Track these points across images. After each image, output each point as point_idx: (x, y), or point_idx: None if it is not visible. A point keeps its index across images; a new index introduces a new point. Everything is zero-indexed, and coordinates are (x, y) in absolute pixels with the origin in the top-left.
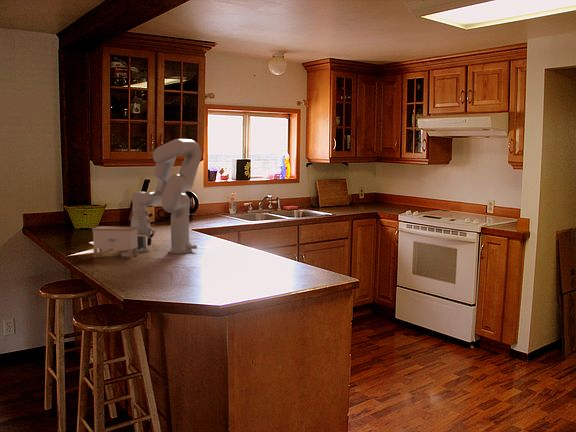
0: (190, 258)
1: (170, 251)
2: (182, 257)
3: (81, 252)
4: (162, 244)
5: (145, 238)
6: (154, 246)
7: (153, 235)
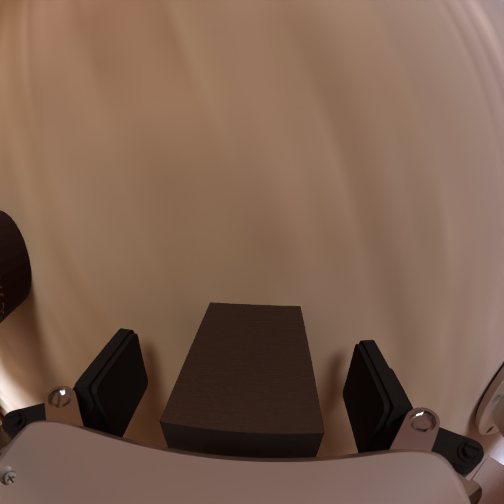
0: (500, 454)
1: (480, 433)
2: (487, 456)
3: (3, 399)
4: (410, 38)
5: (315, 405)
6: (371, 168)
7: (462, 443)
